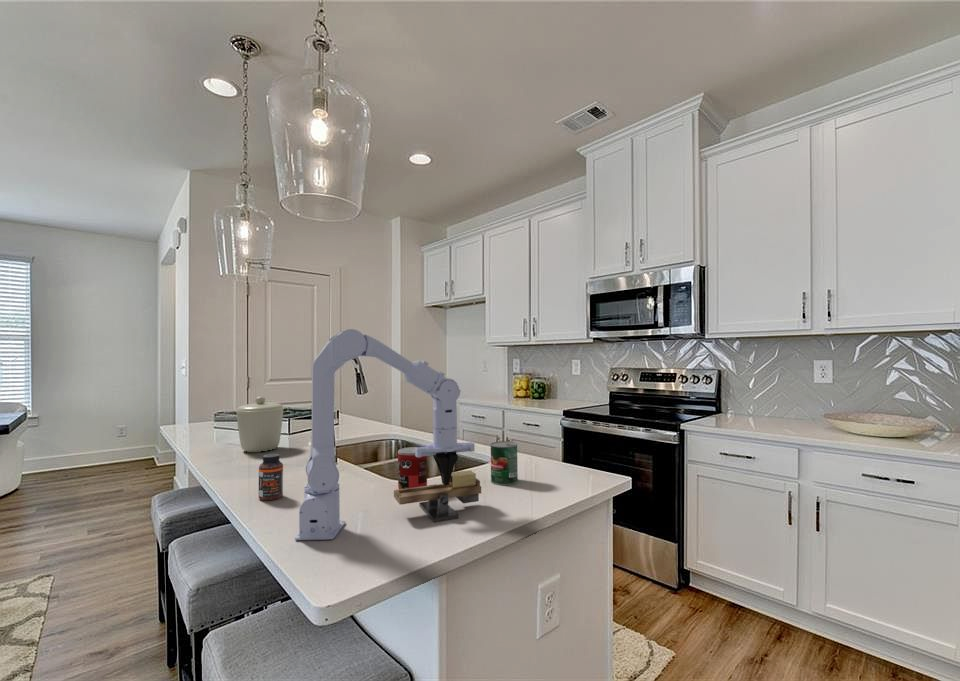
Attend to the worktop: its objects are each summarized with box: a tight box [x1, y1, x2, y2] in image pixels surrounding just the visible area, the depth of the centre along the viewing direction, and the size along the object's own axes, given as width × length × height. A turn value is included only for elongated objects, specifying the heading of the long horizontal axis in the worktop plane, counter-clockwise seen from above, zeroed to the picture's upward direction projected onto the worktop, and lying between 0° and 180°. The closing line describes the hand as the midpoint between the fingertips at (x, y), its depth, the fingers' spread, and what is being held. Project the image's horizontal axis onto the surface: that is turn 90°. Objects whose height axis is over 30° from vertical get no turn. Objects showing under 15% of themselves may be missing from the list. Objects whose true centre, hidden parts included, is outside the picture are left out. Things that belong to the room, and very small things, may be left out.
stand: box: [418, 484, 460, 523], centre depth 110 cm, size 6×12×5 cm, turn 23°
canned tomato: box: [489, 440, 519, 486], centre depth 135 cm, size 8×8×11 cm
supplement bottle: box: [258, 453, 284, 502], centre depth 123 cm, size 6×6×11 cm
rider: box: [448, 470, 477, 490], centre depth 113 cm, size 6×4×4 cm, turn 113°
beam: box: [393, 478, 482, 505], centre depth 110 cm, size 20×6×5 cm, turn 113°
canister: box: [234, 396, 286, 453], centre depth 182 cm, size 18×18×21 cm
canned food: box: [397, 446, 428, 489], centre depth 128 cm, size 8×8×11 cm
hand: (445, 483), depth 111 cm, fingers closed
